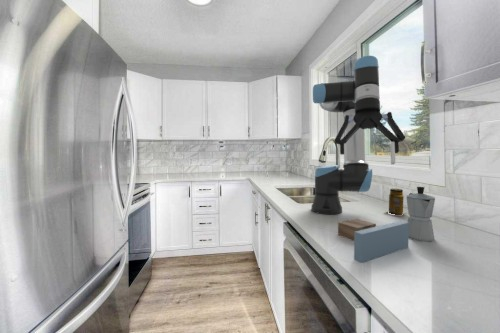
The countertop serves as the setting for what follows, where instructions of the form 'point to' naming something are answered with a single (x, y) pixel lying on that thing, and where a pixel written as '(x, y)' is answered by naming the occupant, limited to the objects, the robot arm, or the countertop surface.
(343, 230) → the walnut block
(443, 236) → the countertop surface
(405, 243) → the slate board
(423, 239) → the coffee maker
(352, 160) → the robot arm
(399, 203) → the condiment
